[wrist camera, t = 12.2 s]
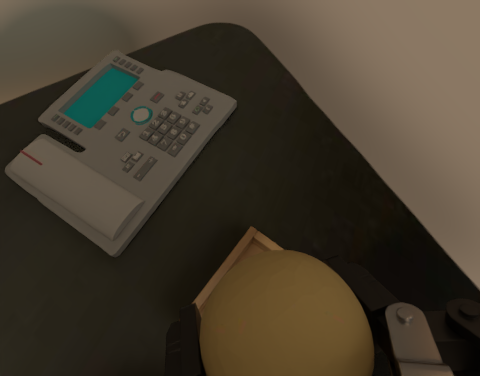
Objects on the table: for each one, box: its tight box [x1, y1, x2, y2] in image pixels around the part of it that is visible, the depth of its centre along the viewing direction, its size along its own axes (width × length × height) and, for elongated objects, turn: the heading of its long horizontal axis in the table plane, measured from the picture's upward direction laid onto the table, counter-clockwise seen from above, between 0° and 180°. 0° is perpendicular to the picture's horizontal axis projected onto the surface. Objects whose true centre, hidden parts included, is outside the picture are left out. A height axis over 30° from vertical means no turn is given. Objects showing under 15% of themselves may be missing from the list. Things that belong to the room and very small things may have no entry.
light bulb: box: [199, 250, 374, 376], centre depth 13 cm, size 6×6×10 cm
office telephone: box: [5, 50, 237, 257], centre depth 34 cm, size 23×3×20 cm
